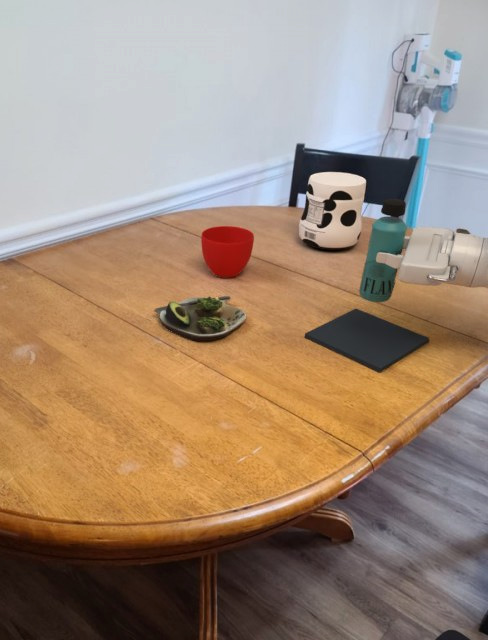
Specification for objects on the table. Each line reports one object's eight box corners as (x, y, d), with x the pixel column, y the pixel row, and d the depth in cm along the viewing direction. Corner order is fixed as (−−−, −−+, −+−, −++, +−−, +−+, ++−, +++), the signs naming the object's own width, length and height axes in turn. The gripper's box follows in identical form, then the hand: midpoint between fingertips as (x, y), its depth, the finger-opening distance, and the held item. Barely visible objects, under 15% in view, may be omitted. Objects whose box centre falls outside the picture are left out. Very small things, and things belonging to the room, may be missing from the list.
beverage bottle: (354, 306, 111) (373, 204, 99) (359, 292, 116) (378, 193, 104) (388, 312, 109) (412, 208, 98) (392, 297, 114) (415, 197, 102)
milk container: (357, 236, 168) (369, 173, 158) (358, 257, 154) (371, 189, 144) (299, 231, 171) (307, 169, 161) (294, 251, 157) (303, 184, 147)
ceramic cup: (254, 260, 152) (257, 222, 146) (248, 285, 138) (251, 245, 132) (206, 256, 154) (207, 219, 148) (196, 280, 140) (197, 241, 134)
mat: (428, 342, 116) (430, 338, 115) (379, 373, 106) (380, 368, 106) (355, 312, 127) (355, 308, 126) (304, 337, 117) (305, 333, 116)
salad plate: (201, 293, 134) (202, 275, 131) (263, 316, 125) (265, 297, 122) (144, 321, 122) (143, 302, 119) (208, 349, 113) (208, 328, 110)
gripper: (449, 299, 96) (367, 285, 101) (456, 256, 111) (384, 246, 116) (460, 264, 93) (374, 251, 97) (466, 225, 108) (391, 215, 112)
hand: (380, 248), depth 107 cm, fingers closed on beverage bottle, 6 cm apart
